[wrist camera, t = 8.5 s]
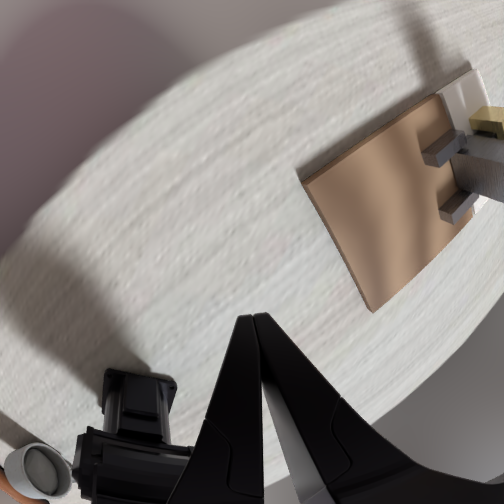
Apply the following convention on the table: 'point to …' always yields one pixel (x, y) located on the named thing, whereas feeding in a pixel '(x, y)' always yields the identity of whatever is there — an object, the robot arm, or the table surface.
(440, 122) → the door leaf
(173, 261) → the table surface
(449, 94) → the jamb plate
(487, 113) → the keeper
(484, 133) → the dark square pillar
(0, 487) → the orange brown tapered rod
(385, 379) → the table surface
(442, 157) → the guide rails
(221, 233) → the table surface
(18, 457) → the ceramic mug
